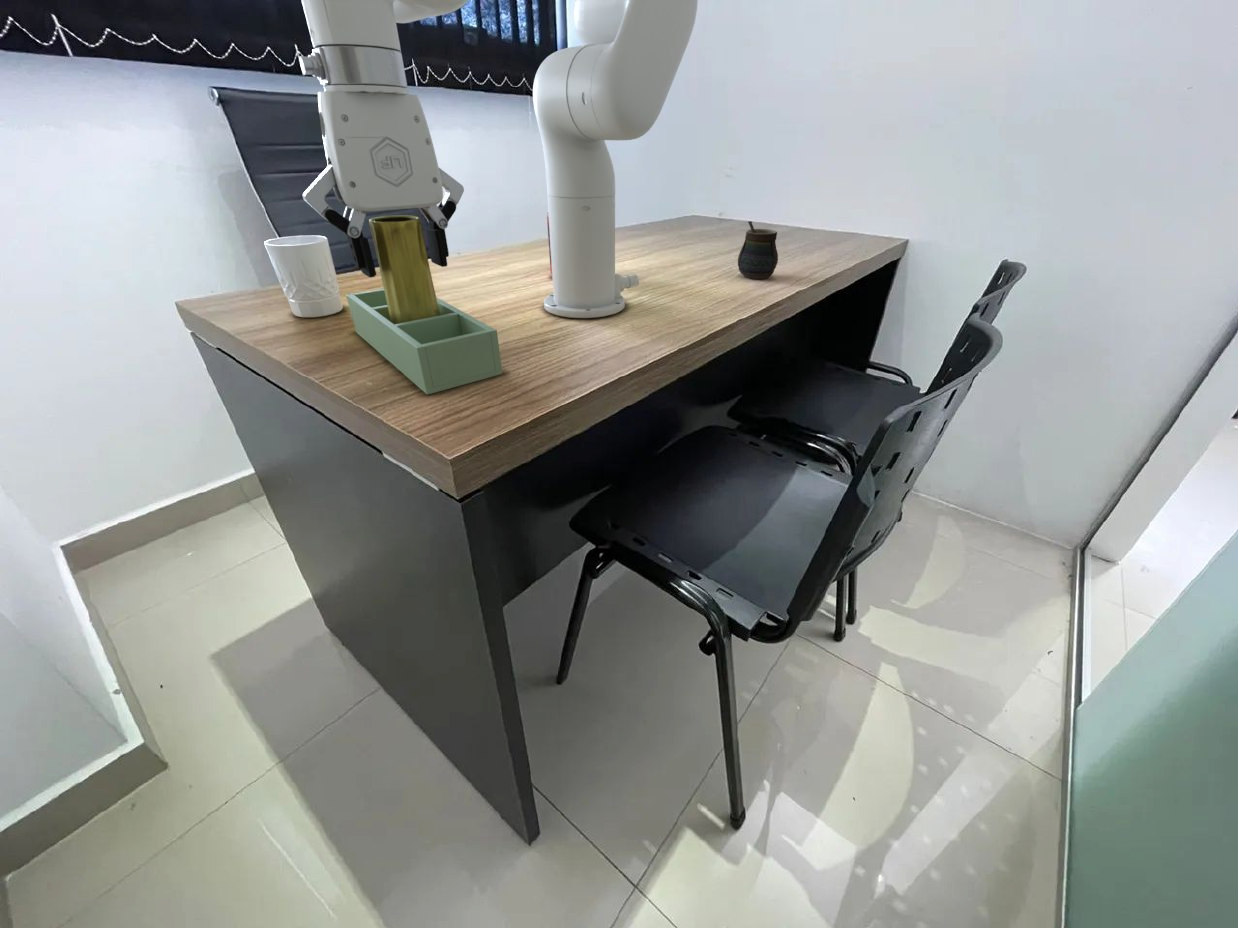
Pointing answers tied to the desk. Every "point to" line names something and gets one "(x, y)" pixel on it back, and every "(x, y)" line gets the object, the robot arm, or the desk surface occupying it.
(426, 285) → the vase
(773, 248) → the mate gourd
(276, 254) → the white cup
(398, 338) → the compartment tray
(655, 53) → the robot arm
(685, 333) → the desk surface
